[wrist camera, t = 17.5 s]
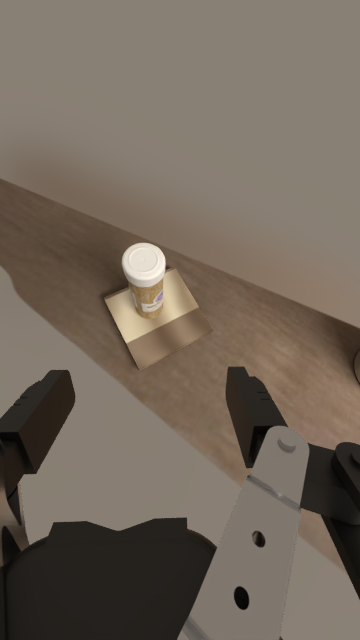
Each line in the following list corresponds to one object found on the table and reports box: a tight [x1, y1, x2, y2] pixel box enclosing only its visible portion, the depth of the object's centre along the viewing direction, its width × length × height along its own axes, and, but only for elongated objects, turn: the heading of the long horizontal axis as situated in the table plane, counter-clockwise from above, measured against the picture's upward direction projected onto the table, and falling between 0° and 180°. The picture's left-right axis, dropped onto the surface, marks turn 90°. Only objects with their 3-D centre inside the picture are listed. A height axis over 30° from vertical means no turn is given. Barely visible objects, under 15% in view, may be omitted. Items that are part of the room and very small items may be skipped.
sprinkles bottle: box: [122, 243, 165, 319], centre depth 29 cm, size 5×5×13 cm
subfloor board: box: [104, 267, 213, 371], centre depth 36 cm, size 13×13×2 cm
